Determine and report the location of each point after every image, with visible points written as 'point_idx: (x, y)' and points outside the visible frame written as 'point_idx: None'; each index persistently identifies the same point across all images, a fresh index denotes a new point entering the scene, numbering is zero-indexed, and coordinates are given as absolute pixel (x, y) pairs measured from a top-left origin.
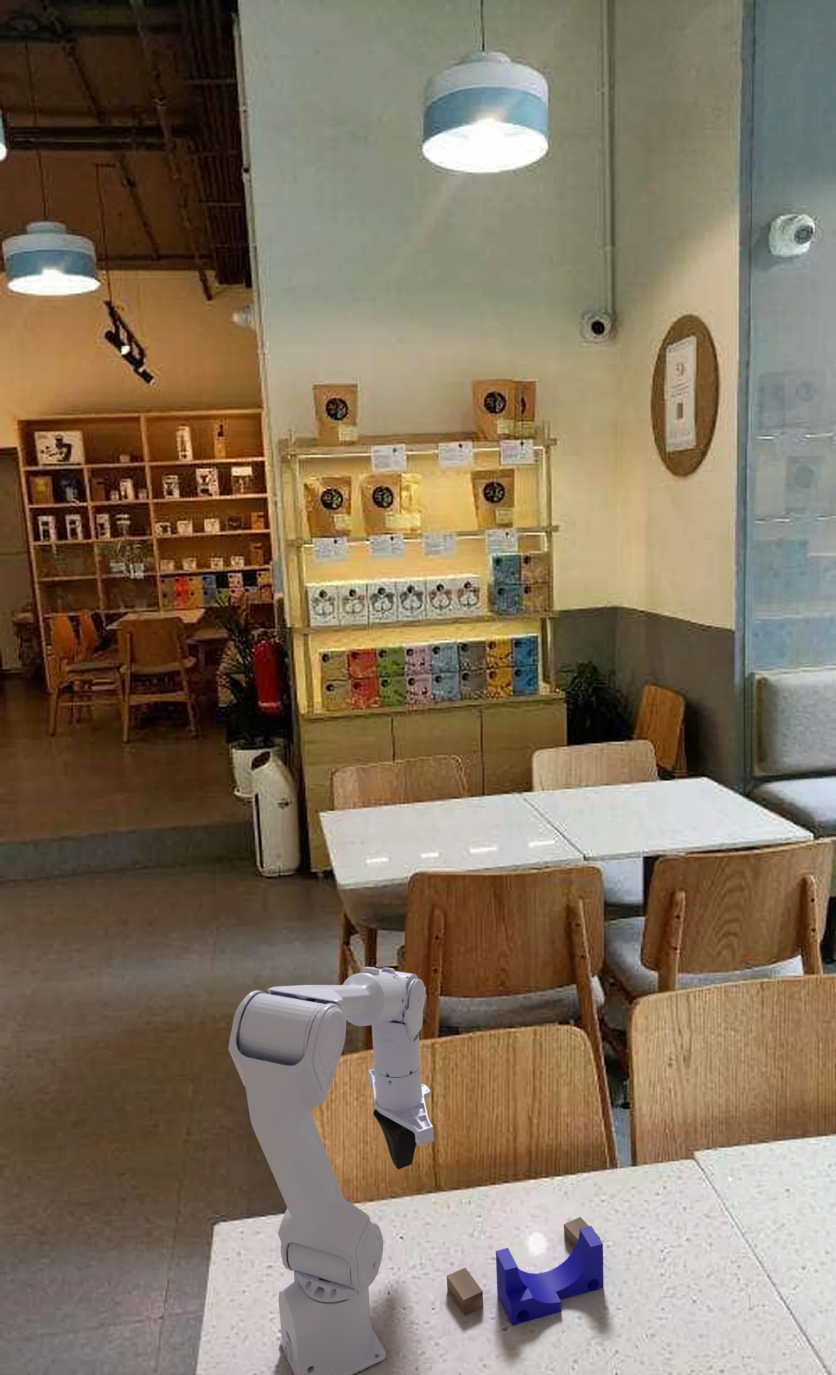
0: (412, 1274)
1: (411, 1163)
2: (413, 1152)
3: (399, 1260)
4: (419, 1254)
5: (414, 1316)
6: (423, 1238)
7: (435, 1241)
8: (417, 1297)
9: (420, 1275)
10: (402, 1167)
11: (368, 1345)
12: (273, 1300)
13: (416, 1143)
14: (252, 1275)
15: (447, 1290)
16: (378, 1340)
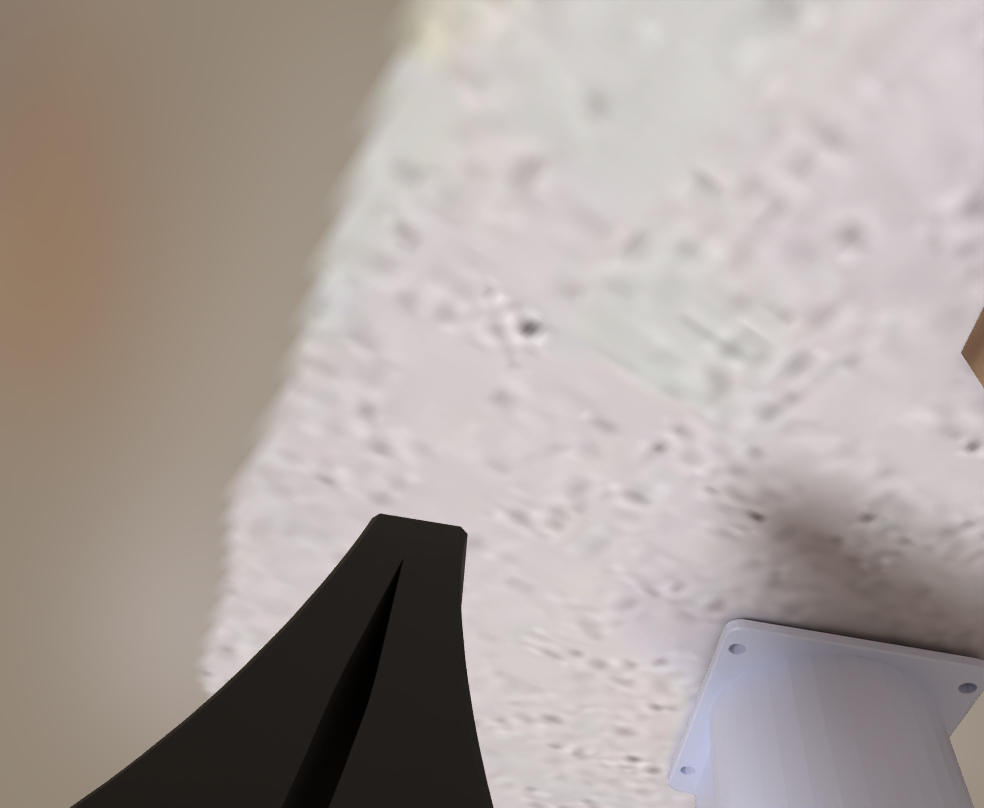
0: (752, 408)
1: (466, 540)
2: (460, 614)
3: (644, 406)
4: (678, 324)
5: (933, 513)
6: (604, 252)
7: (663, 215)
8: (870, 458)
9: (785, 388)
10: (461, 593)
11: (939, 717)
12: (519, 728)
13: (470, 698)
14: None
15: (961, 352)
16: (924, 660)
